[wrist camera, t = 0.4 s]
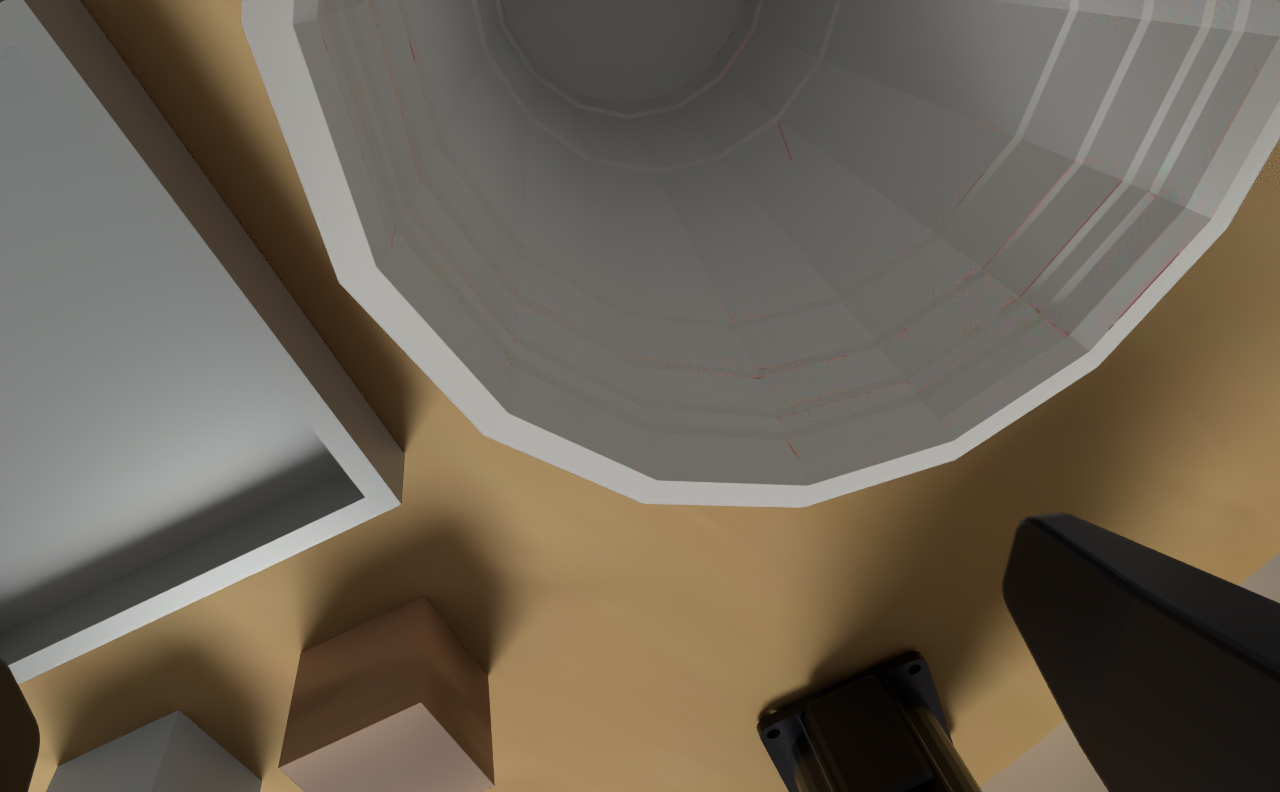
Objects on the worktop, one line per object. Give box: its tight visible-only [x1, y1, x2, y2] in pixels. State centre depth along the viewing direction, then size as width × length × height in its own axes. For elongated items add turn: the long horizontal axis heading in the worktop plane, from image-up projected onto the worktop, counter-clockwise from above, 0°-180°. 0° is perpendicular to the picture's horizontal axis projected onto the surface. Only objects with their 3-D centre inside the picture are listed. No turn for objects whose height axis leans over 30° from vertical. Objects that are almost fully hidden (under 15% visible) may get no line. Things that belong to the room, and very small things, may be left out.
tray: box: [0, 0, 405, 684], centre depth 18 cm, size 12×12×2 cm
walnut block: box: [278, 596, 495, 792], centre depth 24 cm, size 4×4×4 cm
